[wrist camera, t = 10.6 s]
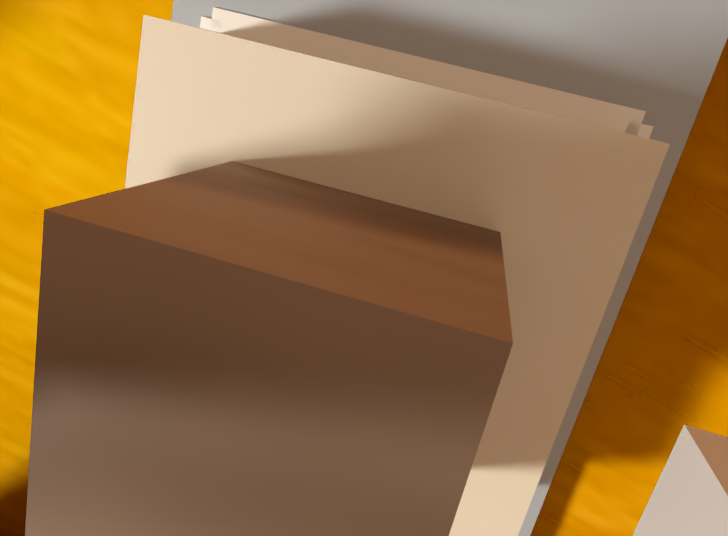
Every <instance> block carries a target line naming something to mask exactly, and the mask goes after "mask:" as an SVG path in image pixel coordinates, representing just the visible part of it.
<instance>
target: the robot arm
mask: <svg viewBox="0 0 728 536" xmlns="http://www.w3.org/2000/svg"><path fill="white" fill-rule="evenodd" d="M633 536H728V437H725V436H722V435H718V434H715V433H712V432H708V431H705V430H701V429H698V428H695V427H691V426H688V425H685V424H684V426H683V428H682V430H681V433H680V435H679V437H678V439H677V441H676V443H675V446H674V448H673V450H672V452H671V454H670V456H669V458H668V461H667V463H666V465H665V467H664V469H663V471H662V474H661V476H660V478H659V480H658V482H657V484H656V487H655V489H654V491H653V493H652V495H651V497H650V499H649V502H648V504H647V506H646V508H645V510H644V512H643V515H642V517H641V519H640V521H639V523H638V525H637V528H636V530H635V532H634V534H633Z"/></svg>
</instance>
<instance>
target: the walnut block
mask: <svg viewBox="0 0 728 536" xmlns="http://www.w3.org/2000/svg"><path fill="white" fill-rule="evenodd" d="M512 345H513V339H512V330H511V321H510V312H509V304H508V295H507V286H506V277H505V268H504V260H503V251H502V242H501V233H500V232H498V231H495V230H491V229H487V228H483V227H480V226H476V225H472V224H468V223H464V222H461V221H457V220H453V219H449V218H446V217H442V216H438V215H434V214H430V213H427V212H423V211H419V210H415V209H412V208H408V207H404V206H400V205H396V204H393V203H389V202H385V201H381V200H377V199H374V198H370V197H366V196H362V195H359V194H355V193H351V192H347V191H343V190H340V189H336V188H332V187H328V186H325V185H321V184H317V183H313V182H309V181H306V180H302V179H298V178H294V177H291V176H287V175H283V174H279V173H275V172H272V171H268V170H264V169H260V168H257V167H253V166H249V165H245V164H241V163H238V162H234V161H231V162H227V163H223V164H219V165H215V166H212V167H208V168H204V169H200V170H196V171H192V172H188V173H184V174H181V175H177V176H173V177H169V178H165V179H161V180H157V181H154V182H150V183H146V184H142V185H138V186H134V187H130V188H126V189H123V190H119V191H115V192H111V193H107V194H103V195H99V196H96V197H92V198H88V199H84V200H80V201H76V202H72V203H68V204H65V205H61V206H57V207H53V208H49V209H45V210H44V227H43V244H42V260H41V277H40V293H39V310H38V326H37V343H36V359H35V376H34V392H33V409H32V426H31V442H30V459H29V475H28V492H27V508H26V525H25V536H449V533H450V530H451V527H452V524H453V521H454V518H455V515H456V512H457V509H458V506H459V503H460V500H461V497H462V494H463V491H464V488H465V485H466V482H467V479H468V476H469V473H470V470H471V467H472V464H473V462H474V459H475V456H476V453H477V450H478V447H479V444H480V441H481V438H482V435H483V432H484V429H485V426H486V423H487V420H488V417H489V414H490V411H491V408H492V405H493V402H494V399H495V396H496V393H497V390H498V387H499V384H500V381H501V378H502V375H503V372H504V369H505V366H506V363H507V360H508V357H509V354H510V351H511V348H512Z"/></svg>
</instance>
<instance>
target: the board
mask: <svg viewBox="0 0 728 536" xmlns="http://www.w3.org/2000/svg"><path fill="white" fill-rule="evenodd" d="M727 38H728V0H174V3H173V11H172V19H171V21H168V20H164V19H160V18H156V17H152V16H147V15H144V16H143V25H142V35H141V44H140V53H139V62H138V72H137V81H136V90H135V99H134V109H133V118H132V127H131V136H130V146H129V155H128V164H127V173H126V183H125V189H126V188H130V187H134V186H138V185H142V184H146V183H150V182H154V181H157V180H161V179H165V178H169V177H173V176H177V175H181V174H184V173H188V172H192V171H196V170H200V169H204V168H208V167H212V166H215V165H219V164H223V163H227V162H231V161H234V162H238V163H241V164H245V165H249V166H253V167H257V168H260V169H264V170H268V171H272V172H275V173H279V174H283V175H287V176H291V177H294V178H298V179H302V180H306V181H309V182H313V183H317V184H321V185H325V186H328V187H332V188H336V189H340V190H343V191H347V192H351V193H355V194H359V195H362V196H366V197H370V198H374V199H377V200H381V201H385V202H389V203H393V204H396V205H400V206H404V207H408V208H412V209H415V210H419V211H423V212H427V213H430V214H434V215H438V216H442V217H446V218H449V219H453V220H457V221H461V222H464V223H468V224H472V225H476V226H480V227H483V228H487V229H491V230H495V231H498V232H500V233H501V242H502V251H503V260H504V268H505V277H506V286H507V295H508V304H509V312H510V321H511V330H512V339H513V345H512V348H511V351H510V354H509V357H508V360H507V363H506V366H505V369H504V372H503V375H502V378H501V381H500V384H499V387H498V390H497V393H496V396H495V399H494V402H493V405H492V408H491V411H490V414H489V417H488V420H487V423H486V426H485V429H484V432H483V435H482V438H481V441H480V444H479V447H478V450H477V453H476V456H475V459H474V462H473V464H472V467H471V470H470V473H469V476H468V479H467V482H466V485H465V488H464V491H463V494H462V497H461V500H460V503H459V506H458V509H457V512H456V515H455V518H454V521H453V524H452V527H451V530H450V533H449V536H530V535H531V532H532V530H533V527H534V525H535V522H536V520H537V517H538V515H539V512H540V510H541V507H542V505H543V502H544V500H545V497H546V495H547V492H548V490H549V487H550V484H551V482H552V479H553V477H554V474H555V472H556V469H557V467H558V464H559V462H560V459H561V457H562V454H563V452H564V449H565V447H566V444H567V442H568V439H569V437H570V434H571V432H572V429H573V426H574V424H575V421H576V419H577V416H578V414H579V411H580V409H581V406H582V404H583V401H584V399H585V396H586V394H587V391H588V389H589V386H590V384H591V381H592V379H593V376H594V374H595V371H596V368H597V366H598V363H599V361H600V358H601V356H602V353H603V351H604V348H605V346H606V343H607V341H608V338H609V336H610V333H611V331H612V328H613V326H614V323H615V321H616V318H617V316H618V313H619V311H620V308H621V305H622V303H623V300H624V298H625V295H626V293H627V290H628V288H629V285H630V283H631V280H632V278H633V275H634V273H635V270H636V268H637V265H638V263H639V260H640V258H641V255H642V253H643V250H644V247H645V245H646V242H647V240H648V237H649V235H650V232H651V230H652V227H653V225H654V222H655V220H656V217H657V215H658V212H659V210H660V207H661V205H662V202H663V200H664V197H665V195H666V192H667V190H668V187H669V184H670V182H671V179H672V177H673V174H674V172H675V169H676V167H677V164H678V162H679V159H680V157H681V154H682V152H683V149H684V147H685V144H686V142H687V139H688V137H689V134H690V132H691V129H692V126H693V124H694V121H695V119H696V116H697V114H698V111H699V109H700V106H701V104H702V101H703V99H704V96H705V94H706V91H707V89H708V86H709V84H710V81H711V79H712V76H713V74H714V71H715V68H716V66H717V63H718V61H719V58H720V56H721V53H722V51H723V48H724V46H725V43H726V41H727Z"/></svg>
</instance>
